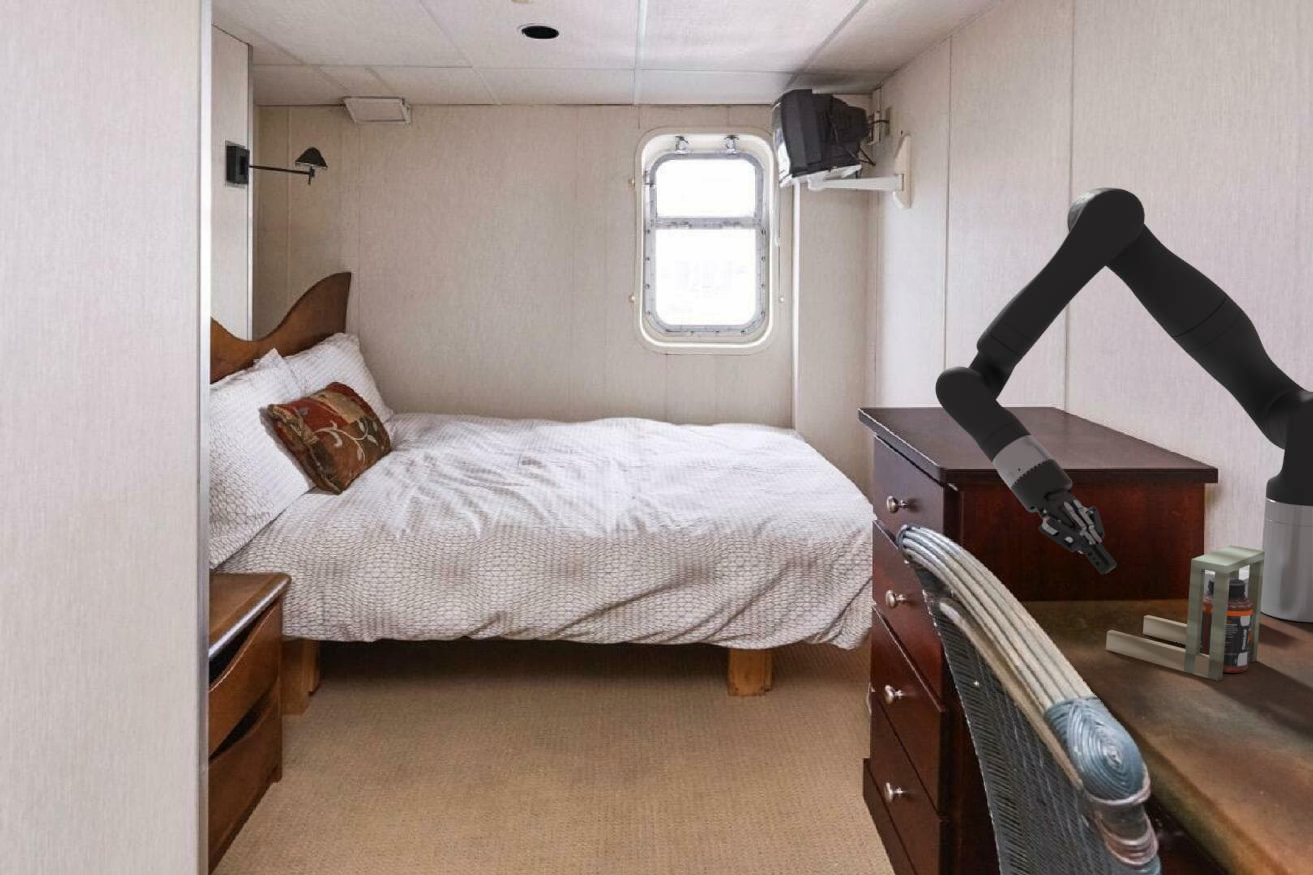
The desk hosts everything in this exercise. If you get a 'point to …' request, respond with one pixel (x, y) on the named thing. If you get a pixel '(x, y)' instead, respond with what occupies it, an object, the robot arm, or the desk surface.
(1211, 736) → the desk surface
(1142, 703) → the desk surface
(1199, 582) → the channel
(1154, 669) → the desk surface
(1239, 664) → the supplement bottle
